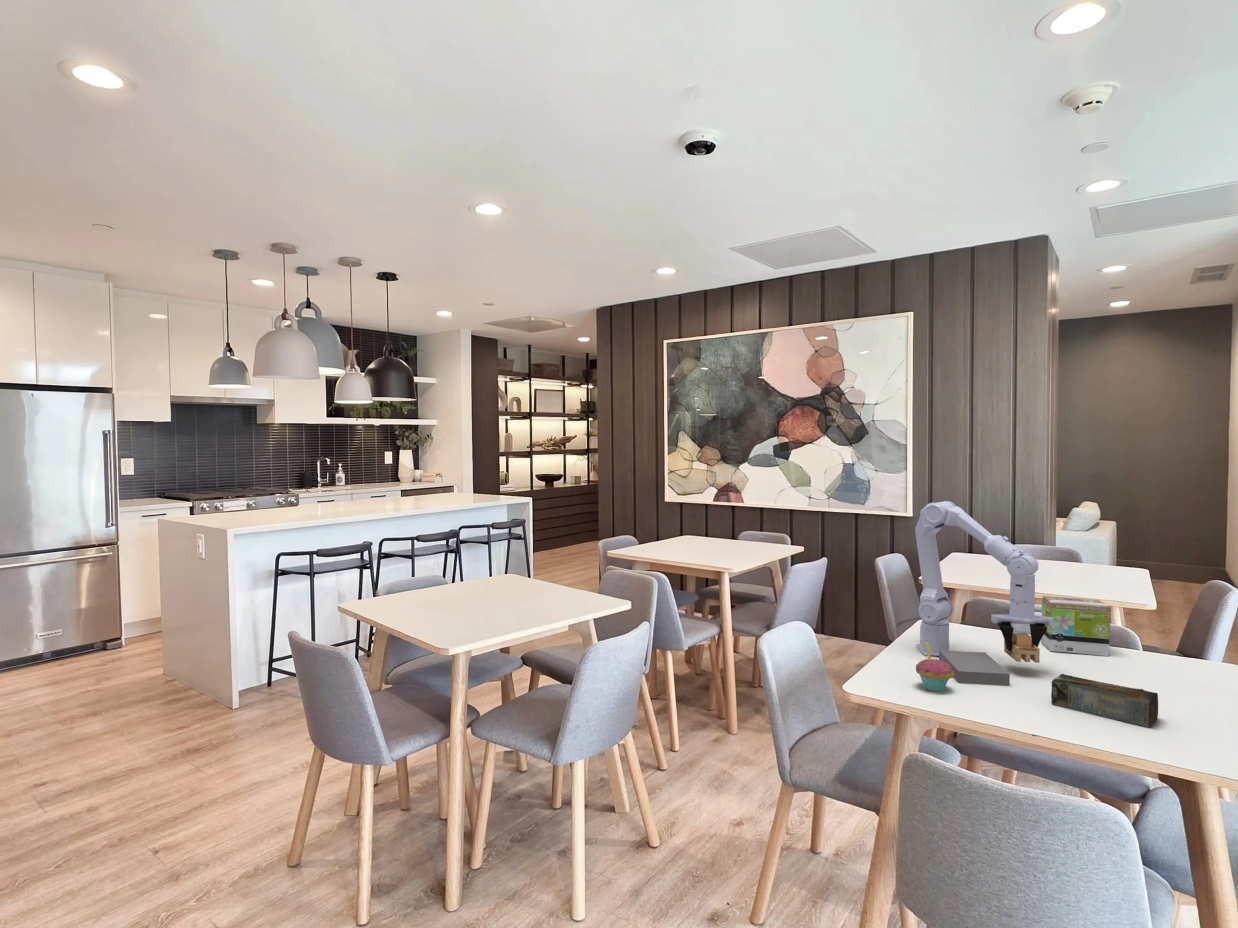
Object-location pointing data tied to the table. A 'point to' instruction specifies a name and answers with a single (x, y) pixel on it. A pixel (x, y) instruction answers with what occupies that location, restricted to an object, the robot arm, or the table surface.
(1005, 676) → the dock
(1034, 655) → the pallet
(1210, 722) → the table surface
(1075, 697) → the beverage carton
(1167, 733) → the table surface
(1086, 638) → the tea box
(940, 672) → the cupcake
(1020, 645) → the light brown block
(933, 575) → the robot arm
